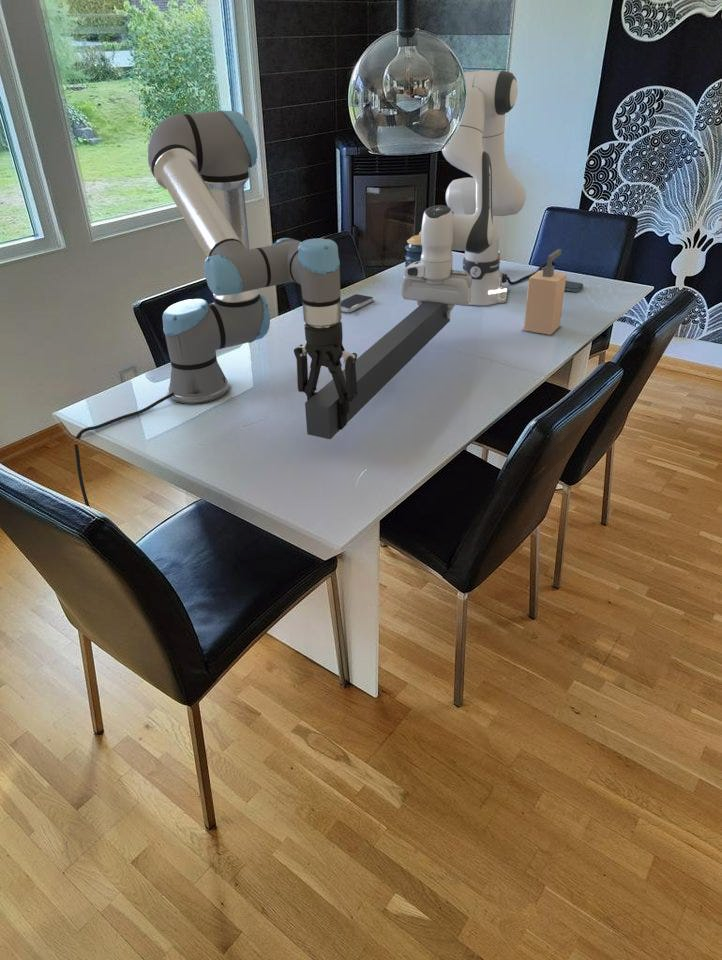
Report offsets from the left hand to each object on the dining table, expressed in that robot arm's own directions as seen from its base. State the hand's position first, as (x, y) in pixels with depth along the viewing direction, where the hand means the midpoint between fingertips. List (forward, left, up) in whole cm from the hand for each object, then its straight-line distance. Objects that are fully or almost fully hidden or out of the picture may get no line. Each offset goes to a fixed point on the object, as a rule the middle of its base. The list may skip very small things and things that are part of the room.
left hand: (329, 423), depth 146 cm
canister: (+119, +53, -7) cm, 131 cm away
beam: (+33, +7, -1) cm, 33 cm away
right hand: (+66, +14, +2) cm, 67 cm away
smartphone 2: (+136, +5, -7) cm, 137 cm away
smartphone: (+81, +57, -7) cm, 99 cm away
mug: (+140, +35, -7) cm, 145 cm away
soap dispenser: (+96, -7, -7) cm, 97 cm away
